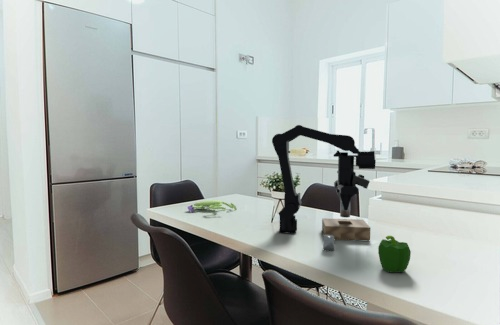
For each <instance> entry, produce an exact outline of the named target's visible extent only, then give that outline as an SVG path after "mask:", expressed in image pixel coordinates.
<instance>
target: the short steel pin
mask: <svg viewBox="0 0 500 325" xmlns="http://www.w3.org/2000/svg"><path fill="white" fill-rule="evenodd" d="M322 242H323V243H322V246H323V247H322V250H323V249H324V250H323V251H325V250H326V251H325V252H334V251H335V240H334V236H333V235H324V234H323V240H322ZM333 250H334V251H333Z"/></svg>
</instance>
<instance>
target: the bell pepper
mask: <svg viewBox="0 0 500 325" xmlns="http://www.w3.org/2000/svg"><path fill="white" fill-rule="evenodd" d="M377 247H378V248H377V249H378V251H377V252H378V253H377V254H378V258H379V262H380V266H381V267H382V269H383V270H384V271H386V272H387V273H388V272H389V273H397V272H398V273H404V272H405V271H406V270H407V269H408V265H409V263H410V260H411V252H412V250H411V249H410V246H409V245H408V243H407V242H404V241H403V242H401V241H398V240H396V239H395V237H394V236H393V235H387V236H385V238H384V239H383V238H382V240H381V241H380V243H379V245H378V246H377Z"/></svg>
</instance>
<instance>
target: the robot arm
mask: <svg viewBox="0 0 500 325" xmlns="http://www.w3.org/2000/svg"><path fill="white" fill-rule="evenodd" d="M300 136H301V137H305V138H308V139H313V140H316V141H319V142H323V143H325V144H330V145H331V146H334V147H336V148H337V149H338V150H336V152H335V153H334V154H333V157H335V158H338V161H337V167H338V169H337V171H336V173H337V180H335V181H334V182H333V186H334V188H336V189H335V191H336V194H337V196H338V198H339V201H340V202H342V205H343V207H344V210H348V207H349V203H350V204H351V200H352V198H353V197H354V196H355V195H359V193H360V192H359V191H360V190H359V188H358V187H357V186H360V187H362V188H363V189H368V187H369V184H370V182H371V181H370V180H369V179H366V178H365V175H363V174H359V173H358V175H357V174H356V171H355V167H358V169H359V170H375V169H376V155H375V154H376V153H375V150H370V151H369V150H368V151H365V150H364V151H362V150H361V151H360V150H359V148H357V147H356V145H355V144H356V142H355V139H354V138H353V137H352V136H350V135H347V134H346V135H345V134H336V133H335V134H334V133H328V132H324V131H322V130H321V131H320V130H317V129H313V128H309V127H306V126H304V125H302V124H301V125H300V124H297V125H296V126H294V127H292V128H290V129H289V130H287V131H285V132H282V133H276V134H274V135H273V137H272V139H271V143H272V145H273V148H274V152H275V153H276V155H277V157H278V162H279V167H280V168H279V169H280V173H281V177H282V182H283V183H282V184H283V189H284V190H283V191H284V200H283V207H282V208H281V210H280V211H279V212H278V215H279V216H278V217H279V231H278V233H279V234H296V233H297V232H296V231H297V230H298V219H296V215H295V214H297V213H298V212H299V210H300V208H301V205H302V203H303V201H302V199H301V193H300V192H299V193H297V190H296V189H295V184H294V178H293V173H292V168H291V163H290V161H291V160H290V155H289V154H290V153H289V152H290V142H292V141H293V140H295V139H297V138H298V137H300ZM339 149H340V150H342V151H341V152H340V150H339ZM348 151H349V152H351V153H352V154H353V155H352V154H349V152H348ZM356 185H357V186H356Z"/></svg>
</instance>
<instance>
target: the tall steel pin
mask: <svg viewBox="0 0 500 325" xmlns="http://www.w3.org/2000/svg"><path fill="white" fill-rule="evenodd" d="M339 205H340V208H339V209H340V210H339V213H340V214H339V217H341V218H350V217H351V202H350V203H349V207H348V210H344V207H343V205H342V202H340V204H339Z"/></svg>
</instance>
